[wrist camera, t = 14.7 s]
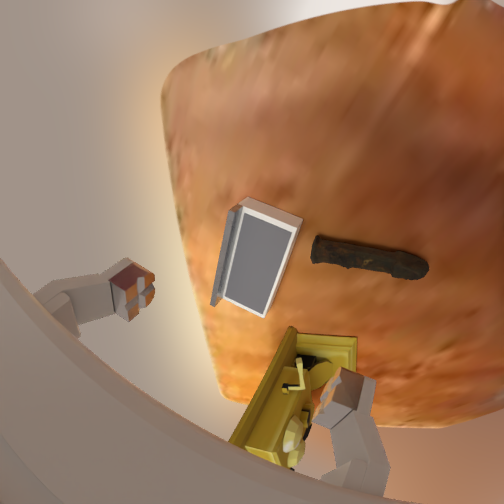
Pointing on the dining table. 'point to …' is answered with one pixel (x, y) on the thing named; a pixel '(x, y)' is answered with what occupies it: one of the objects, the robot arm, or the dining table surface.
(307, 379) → the vintage telephone
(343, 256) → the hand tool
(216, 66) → the dining table surface
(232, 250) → the grey open box
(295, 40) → the dining table surface
